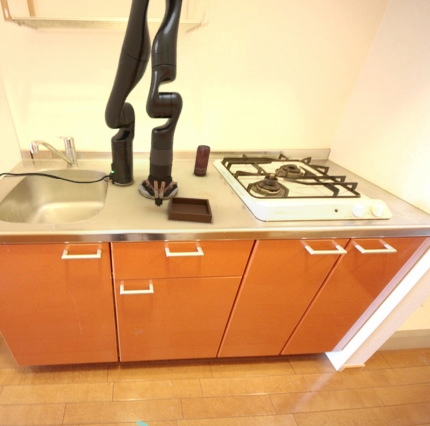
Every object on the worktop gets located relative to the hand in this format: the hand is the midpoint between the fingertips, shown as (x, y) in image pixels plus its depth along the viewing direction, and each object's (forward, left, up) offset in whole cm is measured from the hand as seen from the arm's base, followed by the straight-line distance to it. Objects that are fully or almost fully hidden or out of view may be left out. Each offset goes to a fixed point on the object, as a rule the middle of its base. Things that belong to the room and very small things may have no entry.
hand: (158, 205), depth 84 cm
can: (+18, +36, -2) cm, 41 cm away
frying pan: (-2, +21, -2) cm, 21 cm away
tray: (+11, 0, -2) cm, 12 cm away
